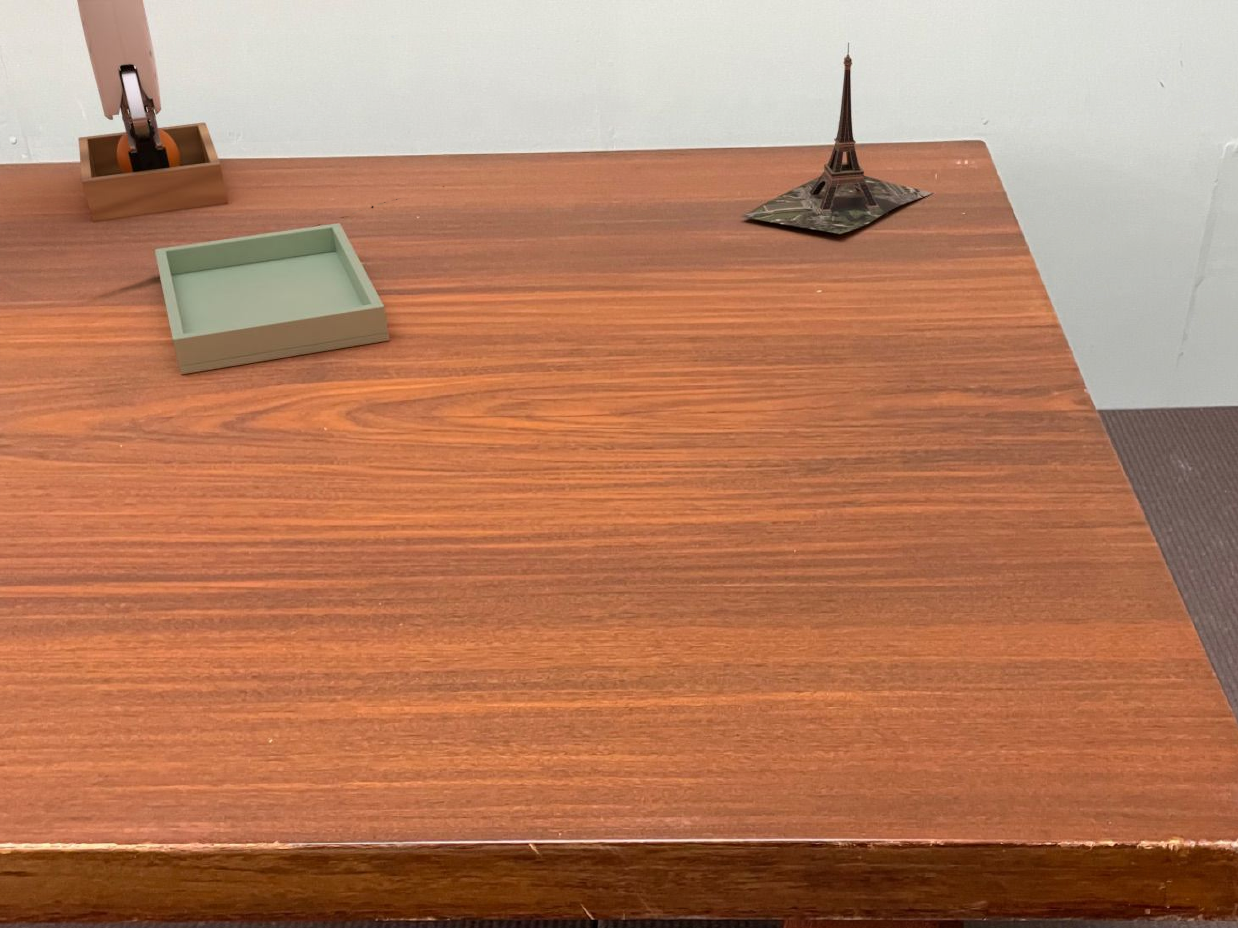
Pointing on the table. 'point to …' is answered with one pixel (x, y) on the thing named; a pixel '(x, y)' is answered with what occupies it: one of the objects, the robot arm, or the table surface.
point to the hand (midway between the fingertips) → (155, 183)
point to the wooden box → (151, 177)
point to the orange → (166, 142)
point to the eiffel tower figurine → (837, 187)
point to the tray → (268, 298)
